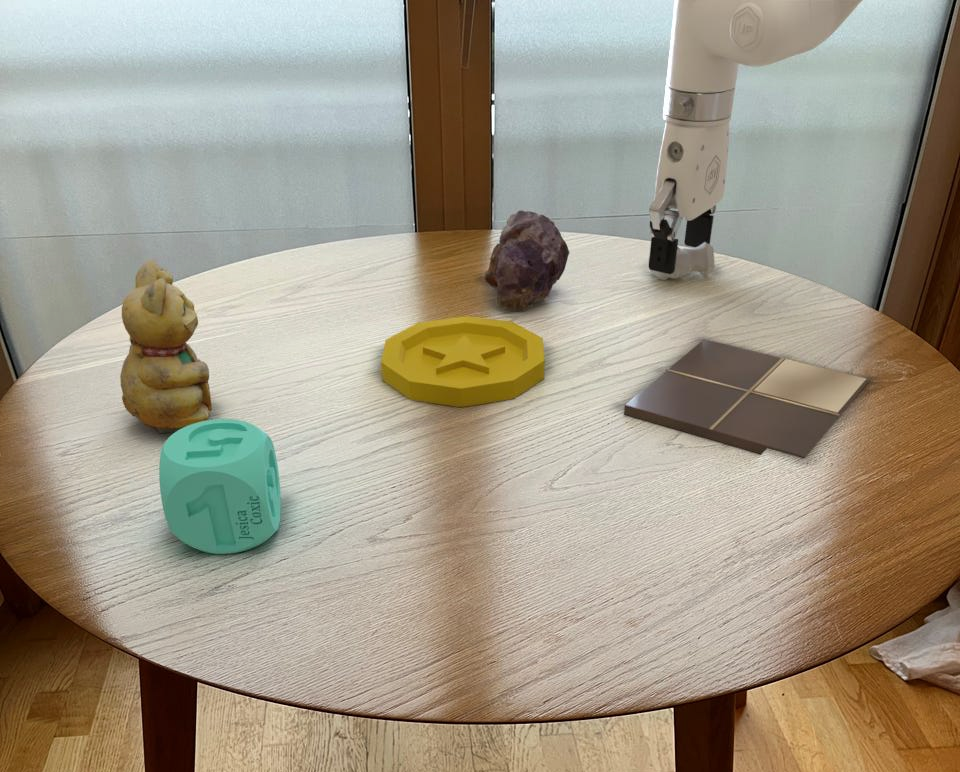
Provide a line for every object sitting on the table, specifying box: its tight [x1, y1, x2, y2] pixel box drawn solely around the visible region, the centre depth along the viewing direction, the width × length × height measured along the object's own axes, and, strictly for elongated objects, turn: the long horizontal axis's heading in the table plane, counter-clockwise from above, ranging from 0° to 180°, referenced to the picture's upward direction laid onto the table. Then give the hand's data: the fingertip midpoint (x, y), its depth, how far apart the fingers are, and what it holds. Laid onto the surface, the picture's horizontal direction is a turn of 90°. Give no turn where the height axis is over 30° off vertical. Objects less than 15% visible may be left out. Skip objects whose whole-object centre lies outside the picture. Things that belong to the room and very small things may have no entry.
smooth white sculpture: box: [648, 242, 715, 281], centre depth 122 cm, size 4×8×5 cm
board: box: [623, 338, 871, 459], centre depth 98 cm, size 18×18×1 cm
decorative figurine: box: [119, 259, 213, 434], centre depth 92 cm, size 10×8×15 cm
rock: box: [483, 209, 570, 312], centre depth 117 cm, size 12×9×10 cm
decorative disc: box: [380, 315, 545, 408], centre depth 104 cm, size 17×18×2 cm
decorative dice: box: [158, 418, 282, 555], centre depth 80 cm, size 8×8×8 cm
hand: (679, 258), depth 122 cm, fingers open, 9 cm apart
